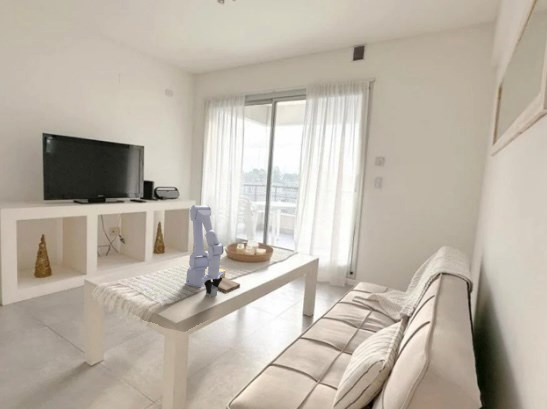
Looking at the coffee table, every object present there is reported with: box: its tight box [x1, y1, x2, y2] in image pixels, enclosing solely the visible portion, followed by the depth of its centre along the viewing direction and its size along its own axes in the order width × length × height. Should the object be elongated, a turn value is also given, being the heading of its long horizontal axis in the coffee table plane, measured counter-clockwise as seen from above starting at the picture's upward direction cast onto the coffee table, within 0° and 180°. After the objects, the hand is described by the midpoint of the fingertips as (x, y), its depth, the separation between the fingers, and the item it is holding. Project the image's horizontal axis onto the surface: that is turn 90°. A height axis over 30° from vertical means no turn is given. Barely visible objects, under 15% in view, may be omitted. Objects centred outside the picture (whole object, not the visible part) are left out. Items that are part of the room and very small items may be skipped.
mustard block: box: [219, 268, 226, 278], centre depth 183 cm, size 4×4×4 cm
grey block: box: [205, 285, 218, 298], centre depth 158 cm, size 4×4×4 cm
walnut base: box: [217, 277, 241, 293], centre depth 170 cm, size 12×12×2 cm
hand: (211, 292), depth 158 cm, fingers closed on grey block, 4 cm apart
